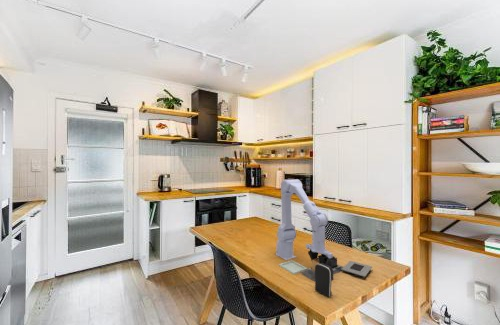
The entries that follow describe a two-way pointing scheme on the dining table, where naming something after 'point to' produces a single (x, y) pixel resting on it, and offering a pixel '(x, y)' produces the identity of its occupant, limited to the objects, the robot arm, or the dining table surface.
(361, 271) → the electrical outlet
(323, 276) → the battery charger
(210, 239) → the dining table surface
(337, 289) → the dining table surface
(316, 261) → the plug
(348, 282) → the dining table surface
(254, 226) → the dining table surface
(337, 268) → the pdu strip
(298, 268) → the tray
